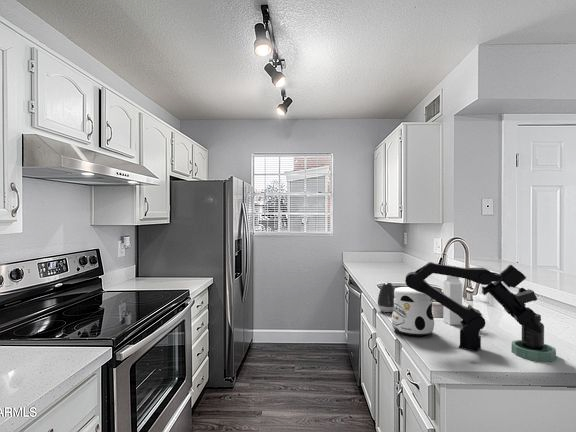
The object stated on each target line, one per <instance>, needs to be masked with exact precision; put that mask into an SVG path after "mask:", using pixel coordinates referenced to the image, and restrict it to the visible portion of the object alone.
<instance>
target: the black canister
mask: <svg viewBox="0 0 576 432" xmlns="http://www.w3.org/2000/svg"><path fill="white" fill-rule="evenodd" d="M394 290H395V287H394V286H393V284H392V282H385V283H383V284H382V285H381V287H380V290H379V293H378V296H377V297H378V298H377V306H378V309H379V310H380V311H381V312H383V313H385V312H392V313H393V311H394Z"/></svg>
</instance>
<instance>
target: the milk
mask: <svg viewBox="0 0 576 432" xmlns="http://www.w3.org/2000/svg"><path fill="white" fill-rule="evenodd" d="M443 294H445V295H446V296H448V297H449V298H451V299H453V300H454V301H456V302H457V303H459V304H460V305H462V306H463V283H462V281H461V280H460V278H459V277H453V276H447V275H446V279H445V280H444V281H443ZM442 307H443V310H442V311H443V312H442V313H443V323H446V324H448V325H450V326H454V325H455V326H457V325H459V326H461V324H460V322H461V321H462V319H461V318H460V317H459V316H458V315H457V314H456V313H454V312H452V311H451V310H449V309H448V308H446V307H445V306H443V305H442Z"/></svg>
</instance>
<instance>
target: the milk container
mask: <svg viewBox="0 0 576 432" xmlns="http://www.w3.org/2000/svg"><path fill="white" fill-rule="evenodd" d="M394 289H395V290H394V311H393V312H392V314H391V324H392V328H393V329H394V330H395V331H397V332H398V333H401V334H404V335H408V336H421V337H422V336H427V335H430V334H431V333H433V331H434V329H435V320H434V315H433V299H432V298H431V297H429V296H428V295H426V294H424V293H421V292H418V291H416V290H414V289H411V288H409V287H408V286H401V287H399V286H398V287H396V288H395V287H394Z"/></svg>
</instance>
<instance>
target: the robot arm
mask: <svg viewBox="0 0 576 432" xmlns="http://www.w3.org/2000/svg"><path fill="white" fill-rule="evenodd" d="M433 274H436V275H442V276H446V277H447V276H453V277H459V279H466V280H468V281H471V282H474V283H476V284H479V285H482V286H481V294H482V295H484V296H485V295H487V294H489V295H490V296H491V297H493V299H495V300H496V302H497V303H498V304H500V305H501V307H502V308H503V310H504V311H505V312H506V314H508V315H510V316H511V318H514V320H515V321H517V323H518V324H519V325H521V326H522V325H523V326H525V327H527V328H530V329H532V330H534V331H536V332H538V333H541V332H542V331H541V329H540V328H539V326H538V325H537V323H536V321H535V320H534V316H535V315H536V314H537V313H536V312H535V311H534V310H533V309H531V308H530V307H529V306H528V307H527V306H526V304H527V303H531V302H536V301H537V300H538V298H537V295H536V293H535V291H534V290H533V289H529V288H527V289H525V288H524V287H520V288H518V292H517V293H513V292H511V290H510V289H509V288H512V289H513V288H514V289H515V288H516V287H517V286H519V284H521V283H522V282H524V281H525V280H526V279H527V276H525V274H524V273H522V272H521V271H520V270H519V269H517V268H516V267H515V266H514V265H513V264H509V265H507V267H506V268H505V269H504V270H502V271H501V272H499V273H497V272H494V271H490V270H489V269H487V268H485V267H460V266H453V265H446V264H440V263H435V262H432V261H429V262H427V263H426V264H425V265H423V266H421V267H420V268H418V269H417V270H415V271H410V272H408V273H407V274H406V275H405V280H404V281H405V285H406V287H409V288H411V289H414V290H416V291H418V292H421V293H424V294H426V295H428V296H429V297H431V298H432V300H434V301H435V302H437V303H438V304H440V305H442V307H443V306H445V307H446V308H448V309H449V310H451V311H452V312H454V313H456V314H457V315H458V316H459V317H460V318H461V319H462V321H461V322H460V324H461V325H460V326H461V328H460V330H459V345H458V348H459V349H464V350H469V351H474V352H478V351H480V349H481V347H482V336H481V335H480V332H481V330H482V329H484V328H485V327H486V319H485V318H484V316H483V314H482V313H481V311H480V310H479V309H476V308H475V307H473V306H472V305H470V304H468V306H465V305H463V304H462V305H460V304H459V303H457V302H456V301H454V300H453V299H451V298H449V297H448V296H446V295H445V294H444V292H441V291H440V290H438V288H435V287H434V286H432V285H431V284H430V283H428V282H427V280H426V279H427V278H429V276H431V275H433ZM503 283H504V284H503ZM507 287H508V288H507Z"/></svg>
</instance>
